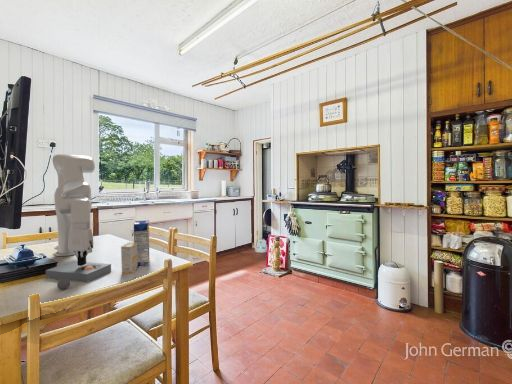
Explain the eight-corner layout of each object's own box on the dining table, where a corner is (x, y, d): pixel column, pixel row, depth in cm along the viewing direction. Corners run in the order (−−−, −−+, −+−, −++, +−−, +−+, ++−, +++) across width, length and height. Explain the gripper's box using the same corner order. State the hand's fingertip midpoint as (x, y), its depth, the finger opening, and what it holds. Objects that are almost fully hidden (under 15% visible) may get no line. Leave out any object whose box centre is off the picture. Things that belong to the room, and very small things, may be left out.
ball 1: (54, 290, 105) (54, 280, 105) (64, 286, 110) (64, 276, 109) (63, 291, 104) (63, 281, 104) (73, 287, 109) (73, 277, 108)
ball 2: (86, 266, 119) (90, 274, 119) (94, 263, 124) (98, 271, 123) (79, 270, 120) (83, 278, 120) (87, 267, 125) (91, 275, 124)
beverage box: (134, 267, 134) (133, 224, 132) (135, 261, 144) (135, 220, 143) (148, 265, 136) (148, 223, 135) (149, 259, 146) (148, 220, 145)
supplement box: (128, 267, 133) (127, 242, 132) (137, 267, 133) (137, 242, 133) (121, 273, 125) (120, 246, 124) (131, 273, 125) (131, 246, 124)
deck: (45, 277, 119) (45, 270, 119) (73, 267, 132) (73, 260, 132) (86, 282, 114) (86, 274, 114) (111, 271, 128) (110, 264, 128)
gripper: (60, 226, 120) (61, 266, 121) (87, 227, 117) (88, 268, 117) (74, 223, 127) (75, 261, 128) (101, 225, 124) (101, 263, 125)
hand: (81, 264), depth 123 cm, fingers closed
